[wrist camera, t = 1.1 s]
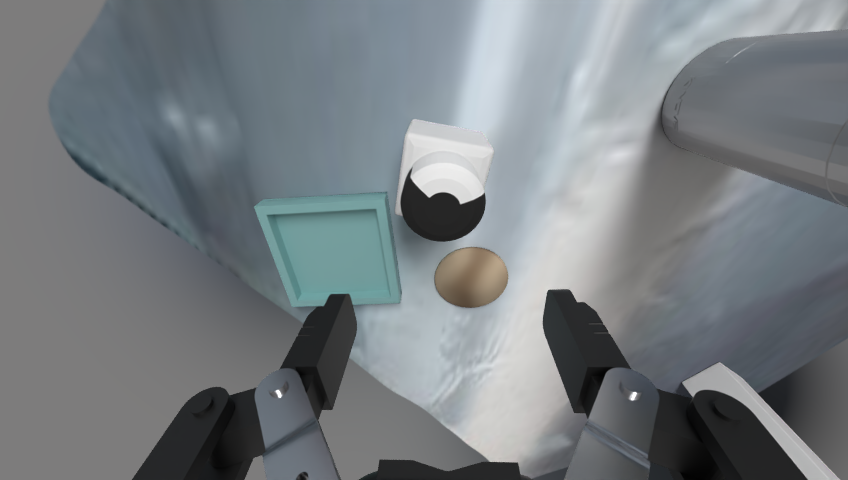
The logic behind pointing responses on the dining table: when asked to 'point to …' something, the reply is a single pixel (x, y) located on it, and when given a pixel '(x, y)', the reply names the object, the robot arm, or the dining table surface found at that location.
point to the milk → (761, 417)
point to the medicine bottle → (443, 180)
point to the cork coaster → (471, 277)
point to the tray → (333, 247)
